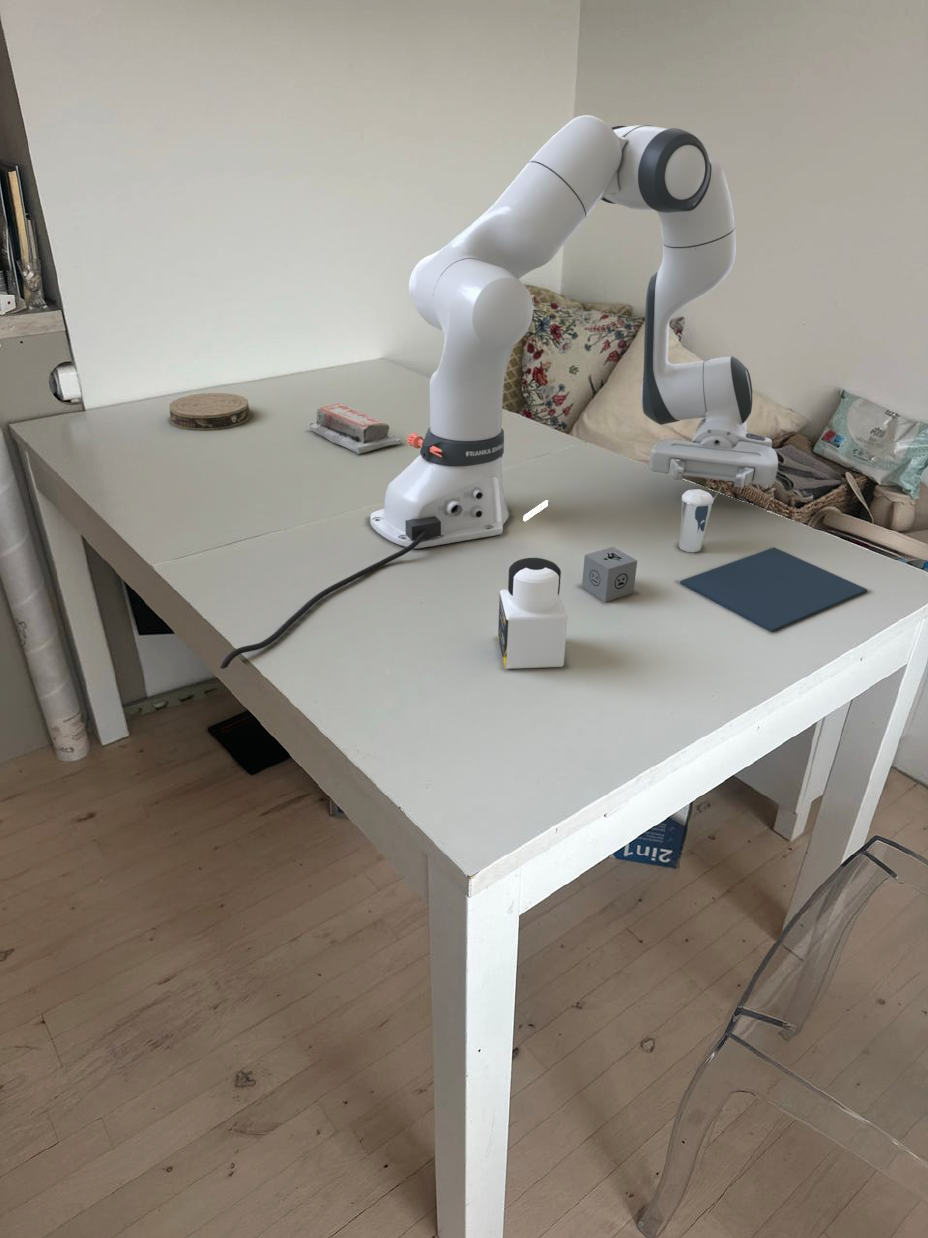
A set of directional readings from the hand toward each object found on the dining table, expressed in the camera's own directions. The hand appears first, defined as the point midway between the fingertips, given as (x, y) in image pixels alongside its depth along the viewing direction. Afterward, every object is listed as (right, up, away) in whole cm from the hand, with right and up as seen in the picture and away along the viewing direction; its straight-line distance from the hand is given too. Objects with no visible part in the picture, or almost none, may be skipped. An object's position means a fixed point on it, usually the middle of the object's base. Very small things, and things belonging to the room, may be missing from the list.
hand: (708, 479), depth 143 cm
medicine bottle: (-30, -26, -32) cm, 51 cm away
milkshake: (-4, -11, -5) cm, 13 cm away
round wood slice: (-91, +20, +46) cm, 104 cm away
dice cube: (-19, -18, -17) cm, 31 cm away
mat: (+5, -18, -16) cm, 24 cm away
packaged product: (-60, +14, +37) cm, 72 cm away
